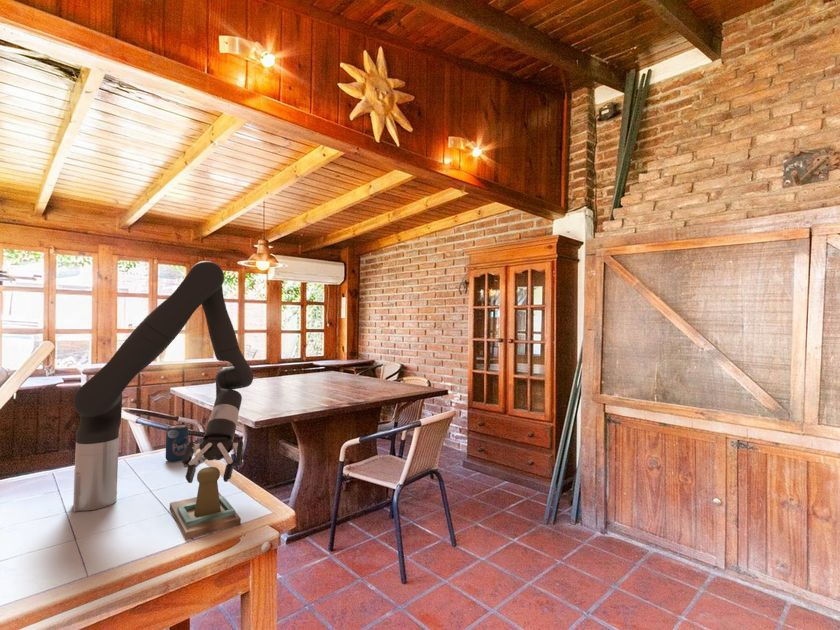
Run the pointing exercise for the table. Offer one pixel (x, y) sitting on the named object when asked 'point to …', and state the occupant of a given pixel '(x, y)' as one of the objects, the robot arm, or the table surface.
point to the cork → (207, 492)
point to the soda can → (176, 442)
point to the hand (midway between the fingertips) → (207, 481)
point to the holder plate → (203, 517)
